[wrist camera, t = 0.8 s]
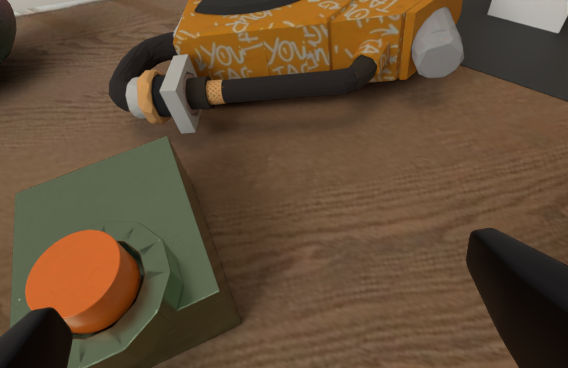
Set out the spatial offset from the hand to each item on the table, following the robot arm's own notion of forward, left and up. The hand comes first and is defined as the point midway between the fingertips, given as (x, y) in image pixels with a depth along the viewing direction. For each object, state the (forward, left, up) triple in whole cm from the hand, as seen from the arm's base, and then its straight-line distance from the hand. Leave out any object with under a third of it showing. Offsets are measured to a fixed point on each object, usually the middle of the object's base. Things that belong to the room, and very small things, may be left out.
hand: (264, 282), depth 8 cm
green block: (+6, +11, -15) cm, 19 cm away
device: (+29, +2, -14) cm, 32 cm away
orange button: (+3, +9, -8) cm, 13 cm away
